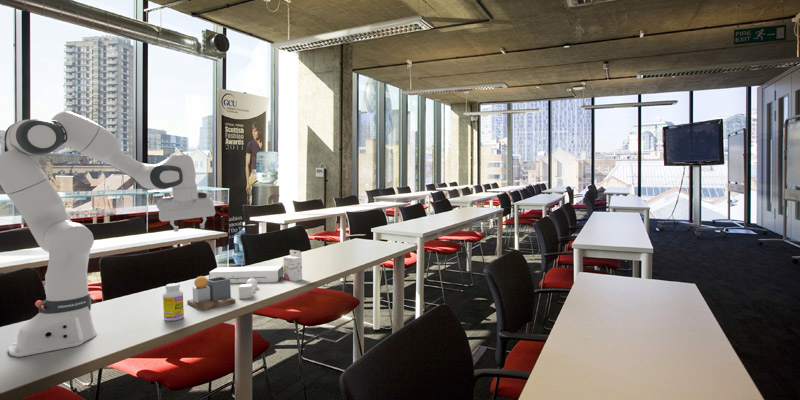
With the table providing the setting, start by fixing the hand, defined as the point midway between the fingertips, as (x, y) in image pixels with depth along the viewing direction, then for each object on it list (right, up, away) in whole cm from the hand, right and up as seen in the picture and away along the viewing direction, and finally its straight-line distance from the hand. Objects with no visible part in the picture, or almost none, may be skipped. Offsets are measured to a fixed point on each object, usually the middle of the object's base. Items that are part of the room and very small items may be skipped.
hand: (189, 229), depth 178 cm
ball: (+2, -22, +6) cm, 23 cm away
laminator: (+6, -29, +50) cm, 59 cm away
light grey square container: (+2, -30, +6) cm, 31 cm away
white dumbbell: (+15, -31, +25) cm, 42 cm away
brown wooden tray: (+5, -31, +9) cm, 33 cm away
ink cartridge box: (+29, -29, +49) cm, 64 cm away
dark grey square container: (+7, -30, +11) cm, 32 cm away
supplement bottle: (-1, -33, -11) cm, 34 cm away
